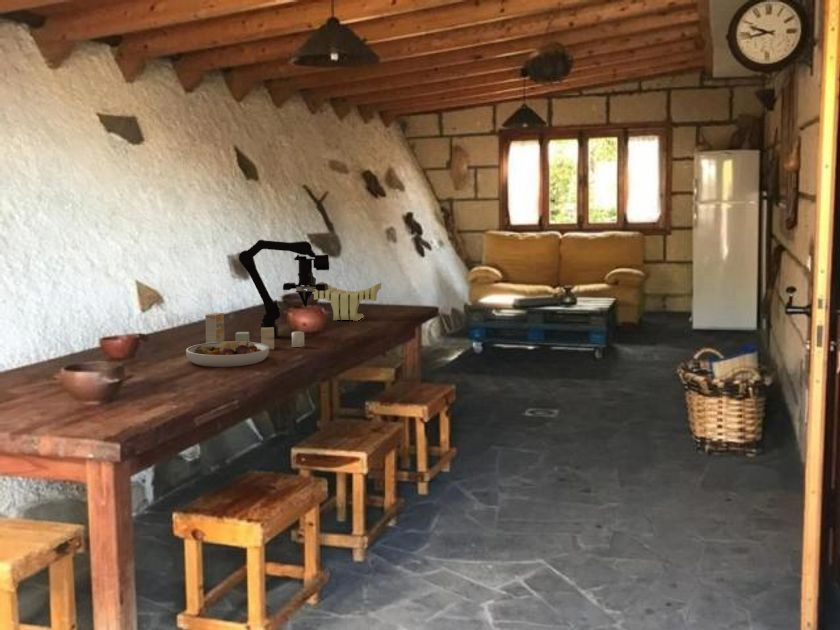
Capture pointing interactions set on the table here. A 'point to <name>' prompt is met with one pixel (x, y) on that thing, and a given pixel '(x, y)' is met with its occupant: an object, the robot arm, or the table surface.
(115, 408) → the table surface
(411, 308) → the table surface
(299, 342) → the beige square block
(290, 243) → the robot arm
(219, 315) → the supplement box
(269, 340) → the beech block
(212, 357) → the bowl
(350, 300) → the slatted curved stool
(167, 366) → the table surface
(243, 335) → the sage cube
